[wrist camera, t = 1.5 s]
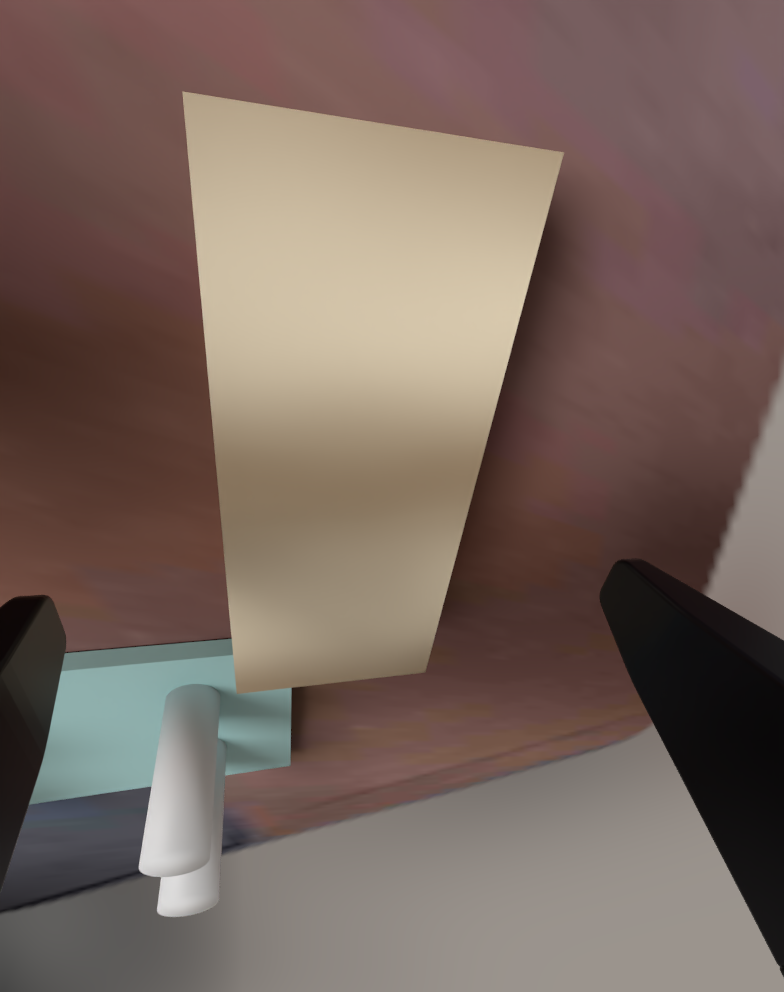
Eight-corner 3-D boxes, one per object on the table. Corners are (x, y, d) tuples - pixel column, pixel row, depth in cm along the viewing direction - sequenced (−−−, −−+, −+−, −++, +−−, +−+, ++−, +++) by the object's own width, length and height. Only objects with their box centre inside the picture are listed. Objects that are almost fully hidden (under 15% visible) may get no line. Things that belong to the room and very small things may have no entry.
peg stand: (-150, 812, 16) (-278, 1030, 12) (-290, 683, 12) (-543, 945, 8) (289, 750, 20) (297, 906, 16) (291, 633, 16) (301, 804, 12)
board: (400, 592, 16) (425, 672, 14) (239, 604, 15) (236, 694, 13) (487, 143, 9) (564, 152, 7) (203, 98, 8) (181, 92, 6)
